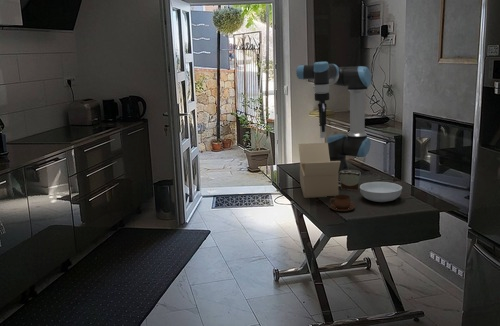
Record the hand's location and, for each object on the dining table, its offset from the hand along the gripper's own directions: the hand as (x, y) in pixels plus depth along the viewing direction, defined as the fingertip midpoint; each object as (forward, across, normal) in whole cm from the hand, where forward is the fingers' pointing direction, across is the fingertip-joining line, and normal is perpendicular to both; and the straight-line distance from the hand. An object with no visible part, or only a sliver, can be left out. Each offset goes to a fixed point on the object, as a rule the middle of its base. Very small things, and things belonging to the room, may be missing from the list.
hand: (323, 137), depth 252 cm
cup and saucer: (+31, +28, +5) cm, 41 cm away
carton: (+31, -7, -3) cm, 32 cm away
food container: (+31, -7, +15) cm, 35 cm away
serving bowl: (+31, +16, +26) cm, 43 cm away
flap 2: (+13, +12, -3) cm, 18 cm away
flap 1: (+14, -26, -2) cm, 30 cm away
